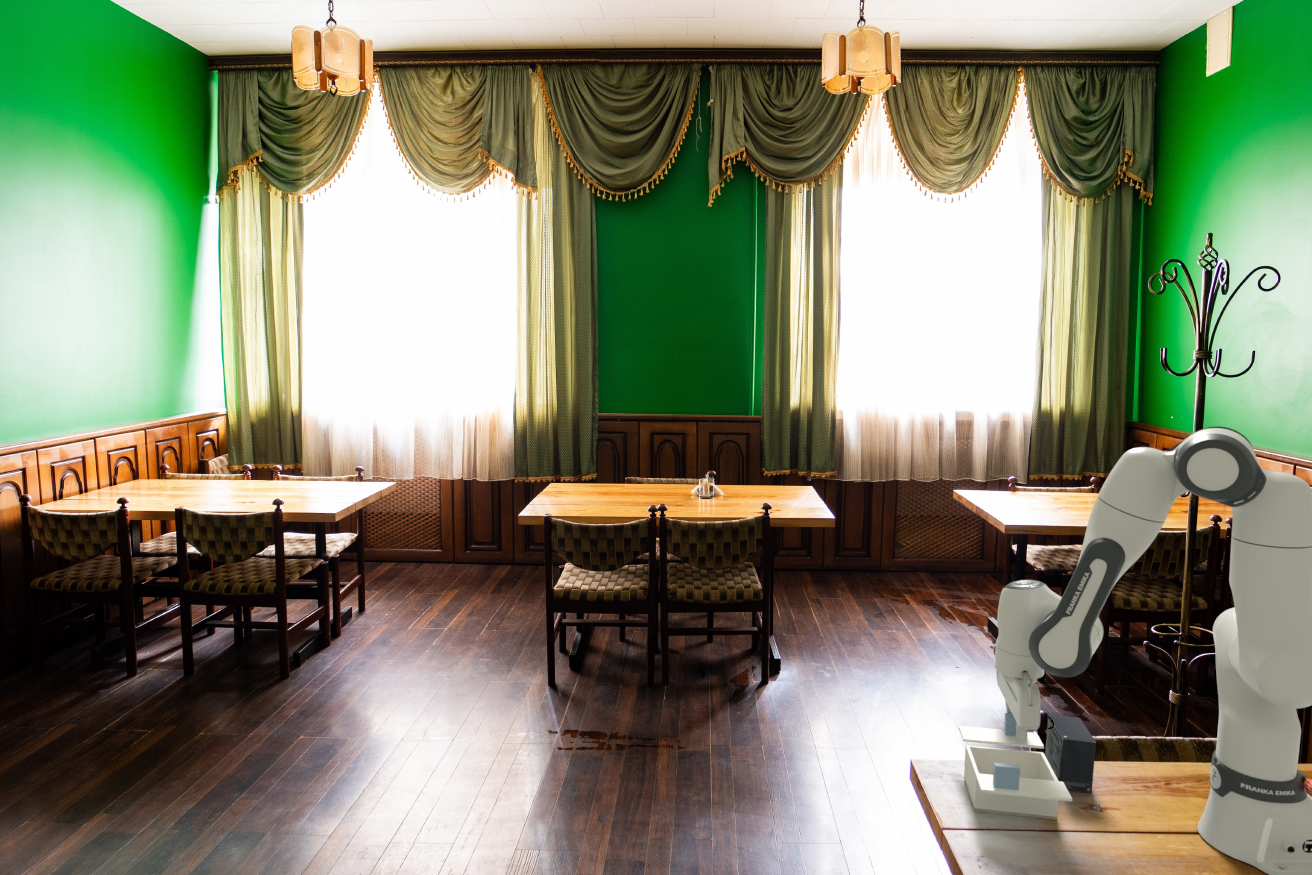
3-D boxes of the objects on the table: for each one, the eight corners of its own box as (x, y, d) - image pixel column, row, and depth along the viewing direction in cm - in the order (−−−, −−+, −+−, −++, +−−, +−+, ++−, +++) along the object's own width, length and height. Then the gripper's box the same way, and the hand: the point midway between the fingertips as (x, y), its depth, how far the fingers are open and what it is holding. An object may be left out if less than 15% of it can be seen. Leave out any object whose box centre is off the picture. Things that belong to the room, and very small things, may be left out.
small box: (1094, 794, 153) (1098, 741, 152) (1057, 790, 155) (1060, 738, 153) (1077, 765, 164) (1081, 716, 162) (1042, 762, 165) (1046, 713, 164)
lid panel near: (1062, 784, 144) (1064, 760, 143) (1072, 801, 138) (1073, 776, 138) (975, 775, 146) (976, 751, 146) (981, 791, 141) (982, 767, 141)
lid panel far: (1036, 735, 161) (1037, 713, 160) (1043, 748, 156) (1045, 726, 155) (958, 728, 164) (959, 706, 163) (963, 741, 159) (964, 719, 158)
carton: (1041, 786, 156) (1043, 752, 155) (1057, 819, 145) (1059, 783, 144) (964, 778, 159) (965, 744, 158) (974, 810, 148) (976, 774, 147)
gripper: (1051, 685, 148) (1047, 757, 149) (1024, 643, 168) (1020, 707, 169) (1014, 682, 149) (1010, 754, 151) (991, 641, 169) (988, 704, 171)
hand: (1015, 729), depth 160 cm, fingers open, 6 cm apart
